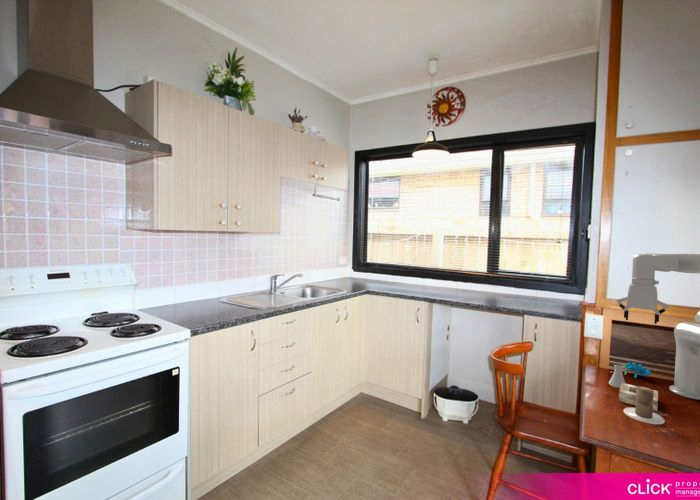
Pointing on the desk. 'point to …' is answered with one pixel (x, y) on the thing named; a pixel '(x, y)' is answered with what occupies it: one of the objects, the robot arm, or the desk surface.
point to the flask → (617, 377)
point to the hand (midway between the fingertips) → (640, 321)
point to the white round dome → (654, 420)
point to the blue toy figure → (636, 369)
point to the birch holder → (634, 395)
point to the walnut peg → (644, 402)
